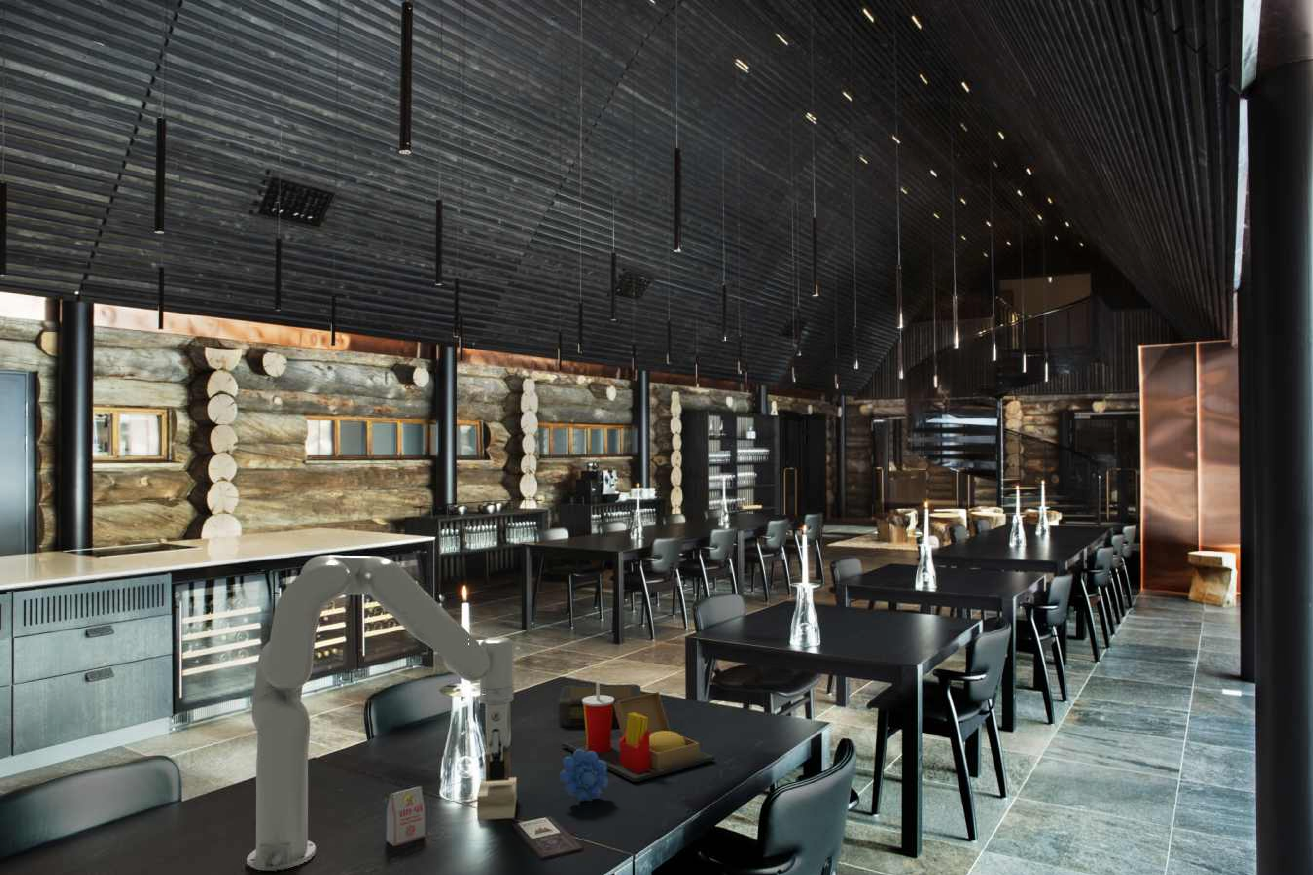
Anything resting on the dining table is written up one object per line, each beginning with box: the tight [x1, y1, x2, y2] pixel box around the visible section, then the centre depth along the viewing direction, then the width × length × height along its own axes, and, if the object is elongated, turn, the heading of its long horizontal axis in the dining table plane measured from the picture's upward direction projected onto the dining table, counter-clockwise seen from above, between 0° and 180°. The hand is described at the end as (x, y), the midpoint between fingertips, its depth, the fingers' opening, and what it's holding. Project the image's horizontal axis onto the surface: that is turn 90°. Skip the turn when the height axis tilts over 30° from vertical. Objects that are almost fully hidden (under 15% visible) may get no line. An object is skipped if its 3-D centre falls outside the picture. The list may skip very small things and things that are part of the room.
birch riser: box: [476, 776, 518, 821], centre depth 194 cm, size 11×8×5 cm
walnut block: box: [485, 745, 511, 781], centre depth 194 cm, size 5×5×6 cm
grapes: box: [559, 749, 609, 802], centre depth 197 cm, size 12×7×12 cm, turn 114°
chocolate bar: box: [511, 815, 584, 861], centre depth 178 cm, size 9×1×18 cm
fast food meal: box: [561, 682, 715, 783], centre depth 230 cm, size 26×35×18 cm
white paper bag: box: [386, 786, 426, 847], centre depth 179 cm, size 4×7×10 cm, turn 129°
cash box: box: [557, 684, 642, 727], centre depth 266 cm, size 25×20×8 cm
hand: (497, 773), depth 194 cm, fingers closed on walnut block, 5 cm apart
